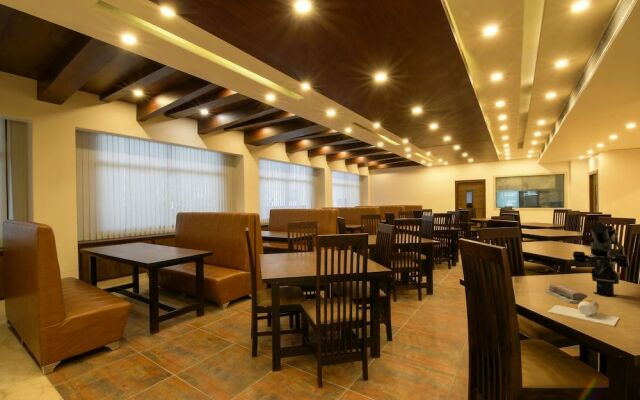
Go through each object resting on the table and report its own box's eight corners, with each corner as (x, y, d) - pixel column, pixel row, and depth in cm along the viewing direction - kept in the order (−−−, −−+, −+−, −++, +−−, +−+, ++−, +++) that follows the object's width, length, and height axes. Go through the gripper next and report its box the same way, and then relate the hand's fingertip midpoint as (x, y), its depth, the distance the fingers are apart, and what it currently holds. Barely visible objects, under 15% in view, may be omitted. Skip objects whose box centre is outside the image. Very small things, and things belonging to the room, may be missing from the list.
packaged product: (544, 283, 154) (565, 283, 153) (544, 292, 154) (565, 292, 152) (569, 293, 136) (593, 293, 135) (570, 304, 136) (594, 304, 135)
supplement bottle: (578, 303, 128) (572, 308, 122) (588, 295, 125) (583, 300, 119) (592, 314, 125) (587, 320, 118) (602, 305, 122) (598, 311, 116)
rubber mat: (556, 305, 133) (556, 304, 133) (619, 318, 118) (619, 317, 118) (547, 312, 126) (547, 311, 126) (613, 326, 110) (613, 325, 110)
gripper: (573, 234, 148) (567, 260, 141) (627, 237, 133) (624, 265, 126) (577, 248, 153) (572, 274, 146) (630, 253, 138) (627, 281, 131)
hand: (597, 273), depth 137 cm, fingers closed
